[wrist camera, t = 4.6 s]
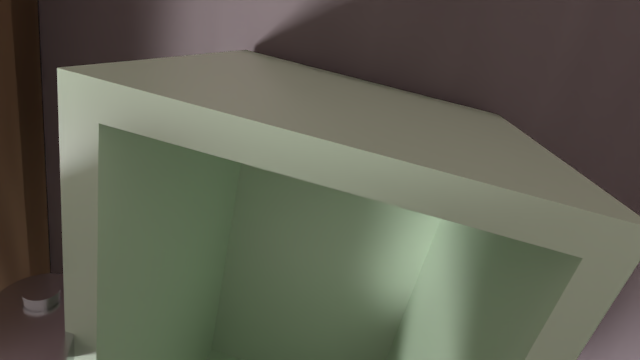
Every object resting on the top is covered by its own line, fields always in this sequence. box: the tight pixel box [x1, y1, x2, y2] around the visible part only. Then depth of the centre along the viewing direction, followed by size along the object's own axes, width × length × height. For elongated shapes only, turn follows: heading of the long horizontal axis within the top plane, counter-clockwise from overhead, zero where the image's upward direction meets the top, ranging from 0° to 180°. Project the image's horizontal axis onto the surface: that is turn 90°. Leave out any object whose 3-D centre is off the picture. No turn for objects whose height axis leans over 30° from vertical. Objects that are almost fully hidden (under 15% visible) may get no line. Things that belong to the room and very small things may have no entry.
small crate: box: [57, 50, 640, 360], centre depth 9 cm, size 6×10×6 cm, turn 167°
